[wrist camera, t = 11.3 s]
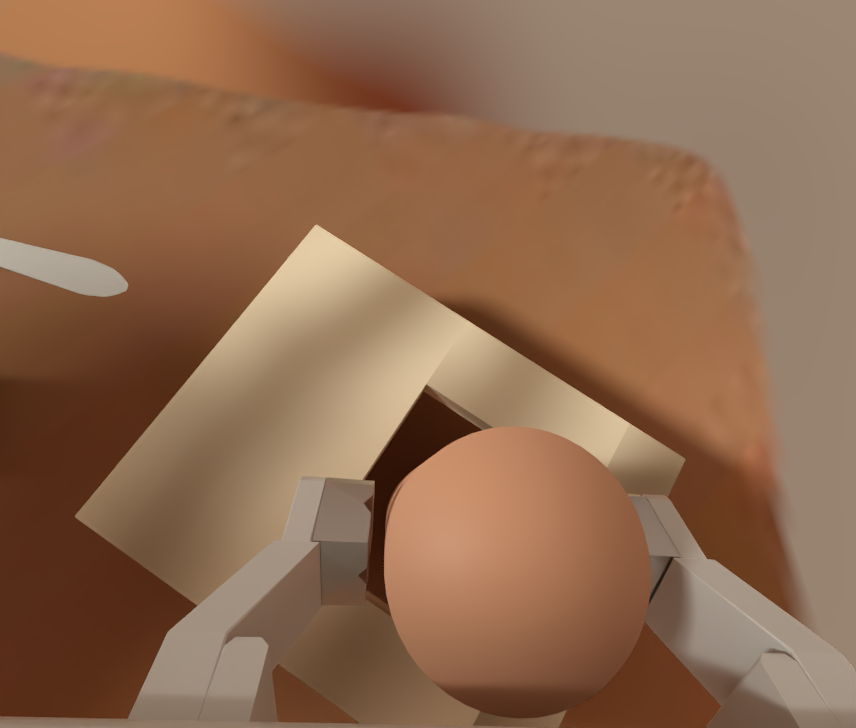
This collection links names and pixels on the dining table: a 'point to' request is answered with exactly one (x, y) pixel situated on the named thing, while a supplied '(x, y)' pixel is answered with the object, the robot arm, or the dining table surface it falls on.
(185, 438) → the bridge
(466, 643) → the long dowel
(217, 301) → the dining table surface
